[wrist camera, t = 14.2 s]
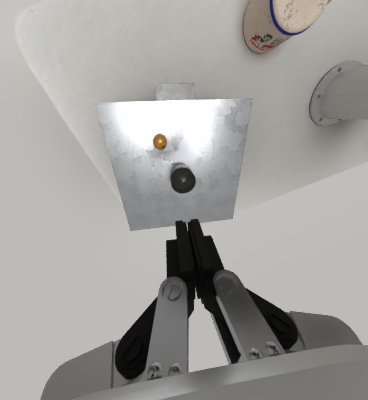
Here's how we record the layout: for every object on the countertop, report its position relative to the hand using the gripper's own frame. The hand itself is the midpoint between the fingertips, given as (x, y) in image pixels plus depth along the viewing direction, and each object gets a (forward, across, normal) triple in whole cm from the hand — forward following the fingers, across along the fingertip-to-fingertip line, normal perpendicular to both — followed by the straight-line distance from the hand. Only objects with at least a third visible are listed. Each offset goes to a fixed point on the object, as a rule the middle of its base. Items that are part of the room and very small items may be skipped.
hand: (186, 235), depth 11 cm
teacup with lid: (+31, -21, -22) cm, 43 cm away
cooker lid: (+18, -1, +1) cm, 18 cm away
